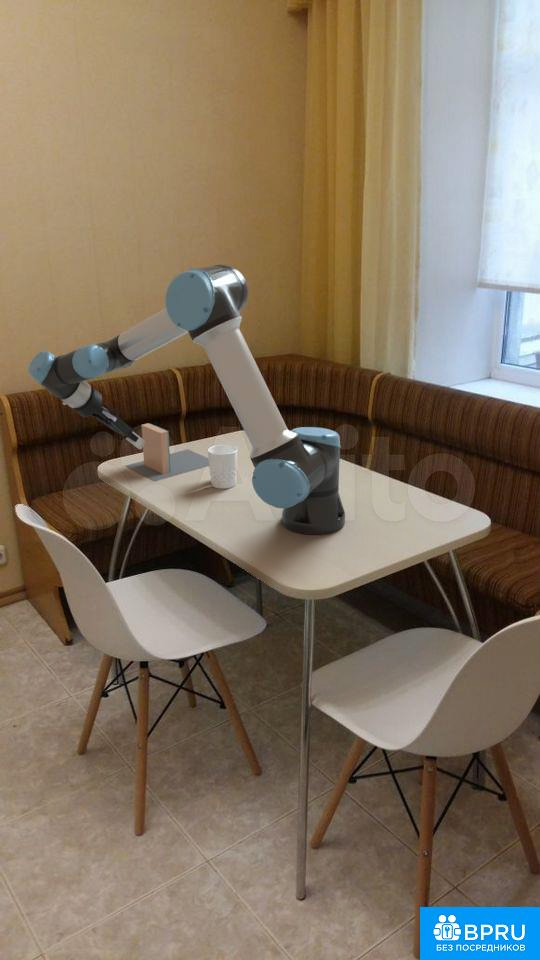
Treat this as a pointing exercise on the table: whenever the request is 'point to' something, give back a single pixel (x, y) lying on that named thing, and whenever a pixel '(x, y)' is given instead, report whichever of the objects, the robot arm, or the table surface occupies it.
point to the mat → (173, 465)
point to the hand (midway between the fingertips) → (142, 445)
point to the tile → (156, 448)
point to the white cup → (223, 466)
